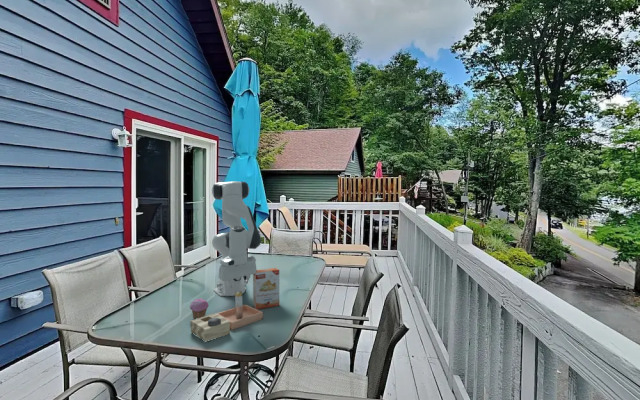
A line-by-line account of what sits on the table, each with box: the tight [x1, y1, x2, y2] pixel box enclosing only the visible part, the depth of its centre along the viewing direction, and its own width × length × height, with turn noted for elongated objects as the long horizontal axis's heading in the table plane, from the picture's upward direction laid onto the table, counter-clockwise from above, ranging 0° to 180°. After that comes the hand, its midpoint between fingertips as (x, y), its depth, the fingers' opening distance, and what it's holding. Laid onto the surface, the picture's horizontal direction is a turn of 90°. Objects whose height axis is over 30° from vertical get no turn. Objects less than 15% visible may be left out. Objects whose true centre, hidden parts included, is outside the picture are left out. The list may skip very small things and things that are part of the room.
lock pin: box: [234, 292, 244, 319], centre depth 170 cm, size 4×4×13 cm
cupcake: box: [189, 297, 209, 319], centre depth 172 cm, size 9×9×10 cm
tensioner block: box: [190, 313, 231, 341], centre depth 154 cm, size 14×12×7 cm
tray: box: [215, 304, 264, 331], centre depth 170 cm, size 16×18×4 cm
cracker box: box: [252, 267, 280, 310], centre depth 188 cm, size 14×6×21 cm, turn 118°
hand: (238, 285), depth 170 cm, fingers open, 8 cm apart
